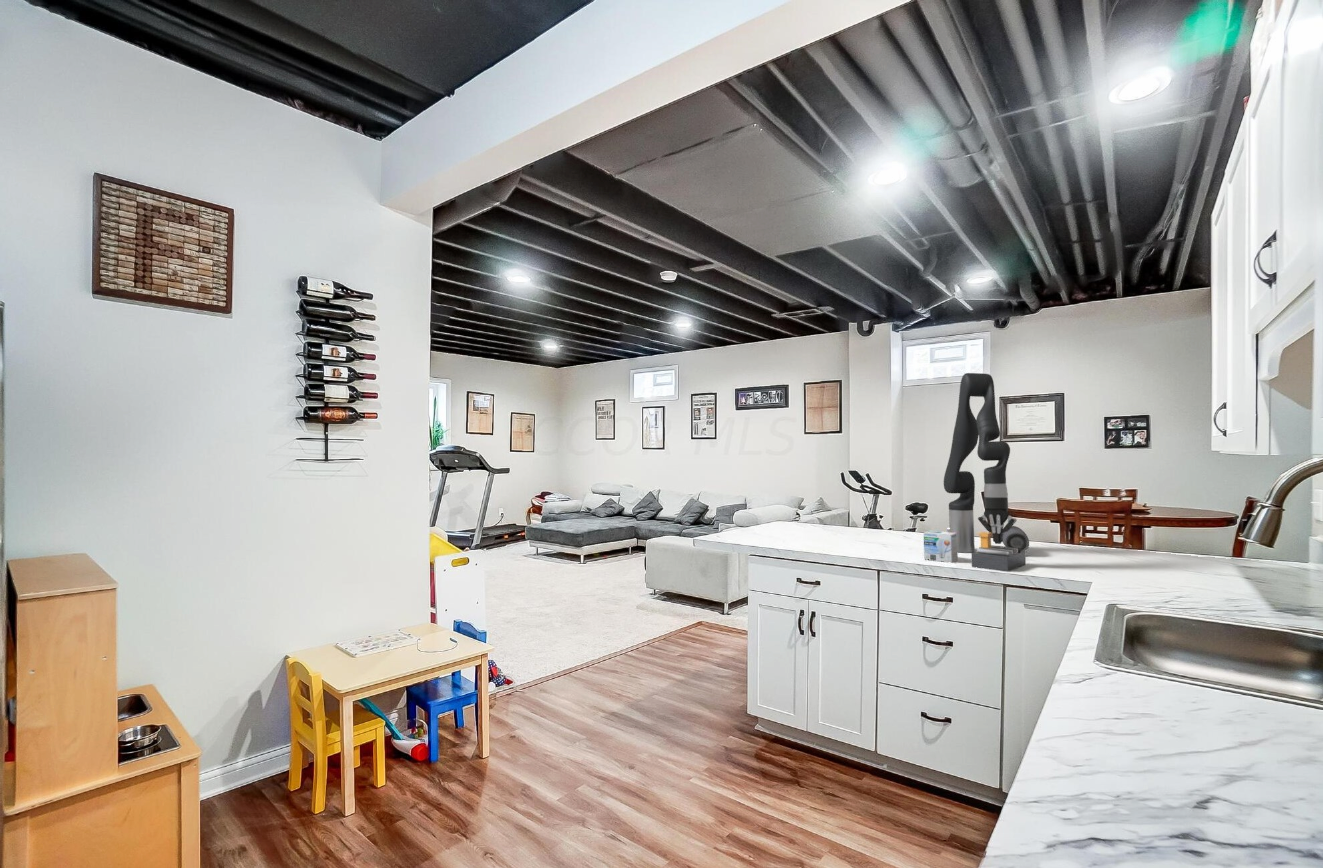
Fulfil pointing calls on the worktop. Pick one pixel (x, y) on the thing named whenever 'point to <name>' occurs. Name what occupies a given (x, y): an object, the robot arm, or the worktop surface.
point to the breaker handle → (985, 539)
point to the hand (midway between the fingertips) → (998, 543)
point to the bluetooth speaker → (1016, 538)
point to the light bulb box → (940, 546)
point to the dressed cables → (996, 551)
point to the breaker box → (999, 559)
